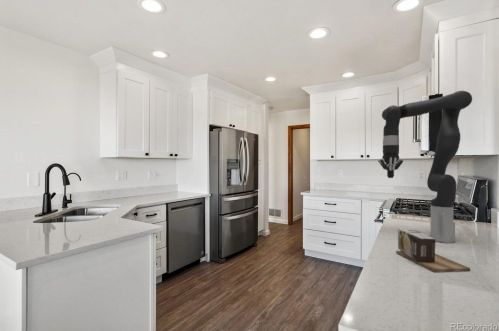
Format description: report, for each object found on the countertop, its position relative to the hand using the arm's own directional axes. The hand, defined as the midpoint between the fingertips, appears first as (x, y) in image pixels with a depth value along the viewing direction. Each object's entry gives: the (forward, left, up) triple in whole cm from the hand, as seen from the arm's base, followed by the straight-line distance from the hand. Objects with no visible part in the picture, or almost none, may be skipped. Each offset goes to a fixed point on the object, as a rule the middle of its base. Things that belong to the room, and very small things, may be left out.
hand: (390, 177), depth 137 cm
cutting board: (+7, +34, -31) cm, 47 cm away
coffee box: (+8, +22, -26) cm, 35 cm away
